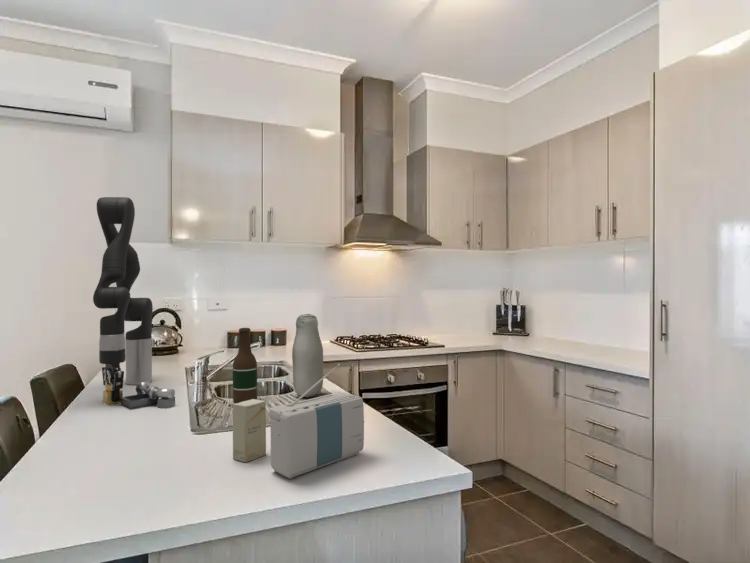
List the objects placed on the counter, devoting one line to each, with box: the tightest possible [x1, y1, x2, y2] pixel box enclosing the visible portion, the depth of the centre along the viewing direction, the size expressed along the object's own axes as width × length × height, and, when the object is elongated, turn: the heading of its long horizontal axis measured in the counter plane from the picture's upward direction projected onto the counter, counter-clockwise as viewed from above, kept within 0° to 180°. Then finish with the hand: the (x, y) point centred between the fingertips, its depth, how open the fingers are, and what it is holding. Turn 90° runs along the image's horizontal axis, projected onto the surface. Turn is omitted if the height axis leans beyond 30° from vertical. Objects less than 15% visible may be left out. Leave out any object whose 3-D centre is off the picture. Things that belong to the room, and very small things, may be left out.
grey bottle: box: [291, 313, 324, 398], centre depth 163 cm, size 10×10×28 cm
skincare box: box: [232, 399, 267, 463], centre depth 107 cm, size 6×4×12 cm
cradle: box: [119, 393, 160, 411], centre depth 154 cm, size 9×9×2 cm
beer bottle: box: [232, 327, 258, 404], centre depth 157 cm, size 8×8×24 cm
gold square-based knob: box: [102, 384, 124, 406], centre depth 157 cm, size 4×4×6 cm
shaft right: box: [149, 385, 176, 409], centre depth 152 cm, size 7×4×6 cm, turn 76°
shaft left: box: [135, 380, 152, 395], centre depth 163 cm, size 7×4×6 cm, turn 16°
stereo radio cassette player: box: [268, 363, 365, 480], centre depth 103 cm, size 21×8×20 cm, turn 136°
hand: (112, 400), depth 157 cm, fingers closed on gold square-based knob, 4 cm apart
